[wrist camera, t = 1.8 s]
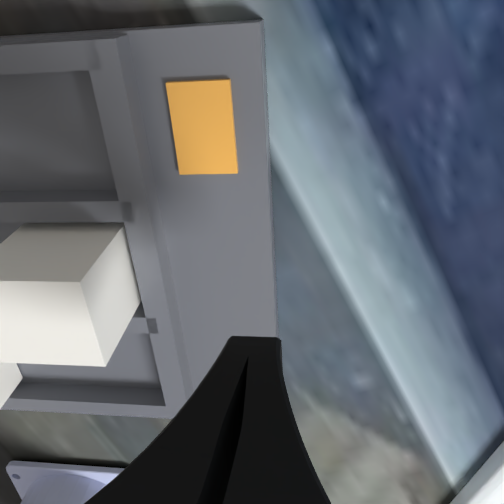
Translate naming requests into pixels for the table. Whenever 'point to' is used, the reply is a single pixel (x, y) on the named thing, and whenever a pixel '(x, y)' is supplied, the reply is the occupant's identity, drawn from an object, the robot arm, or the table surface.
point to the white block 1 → (8, 380)
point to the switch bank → (147, 194)
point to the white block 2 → (65, 293)
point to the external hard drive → (485, 482)
